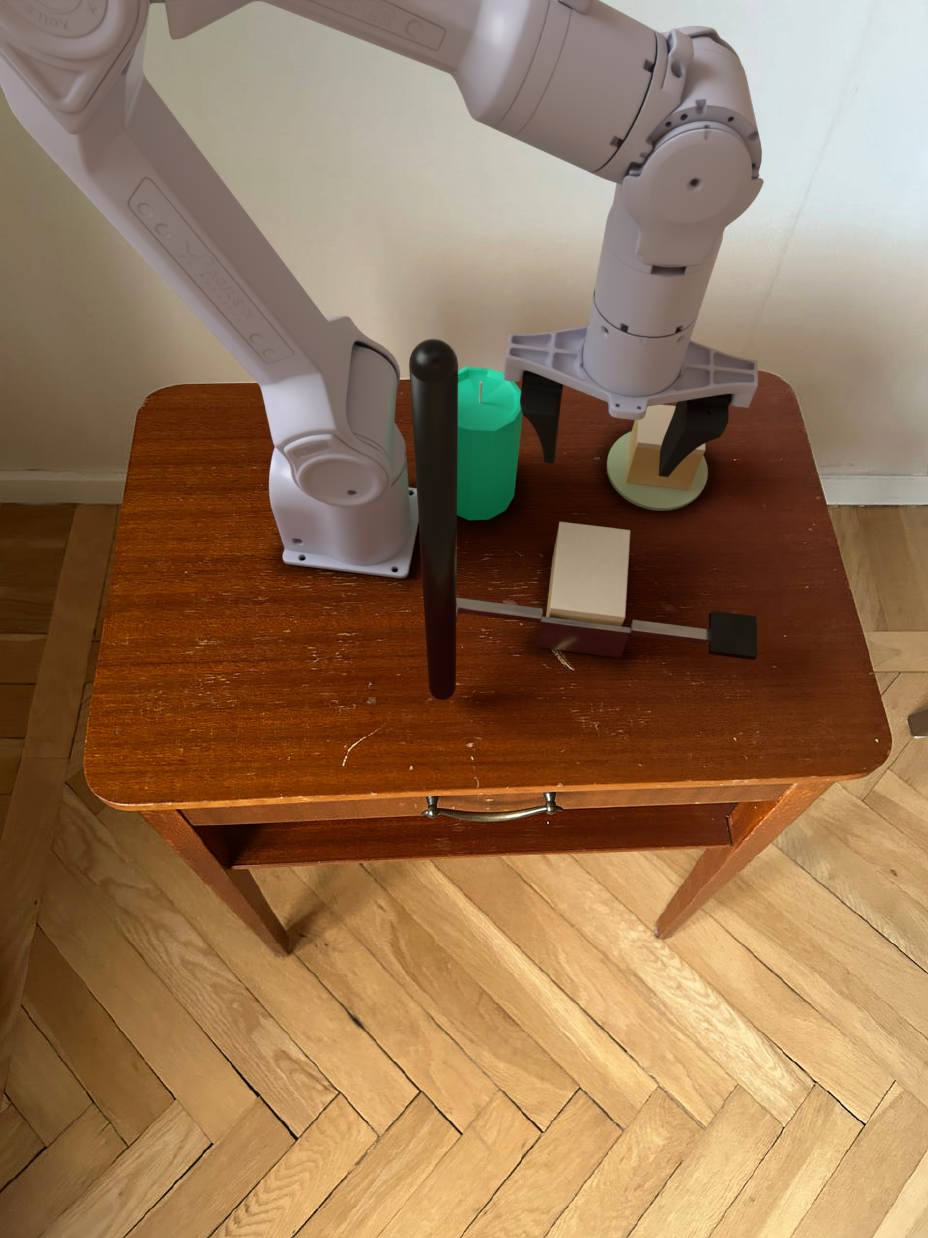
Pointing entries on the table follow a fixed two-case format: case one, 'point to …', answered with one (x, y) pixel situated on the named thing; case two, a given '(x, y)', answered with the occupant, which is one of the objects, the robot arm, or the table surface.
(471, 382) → the candle
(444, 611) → the black upright rod
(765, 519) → the table surface
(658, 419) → the beige block
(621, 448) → the plate
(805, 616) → the table surface
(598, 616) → the tall beige cuboid
